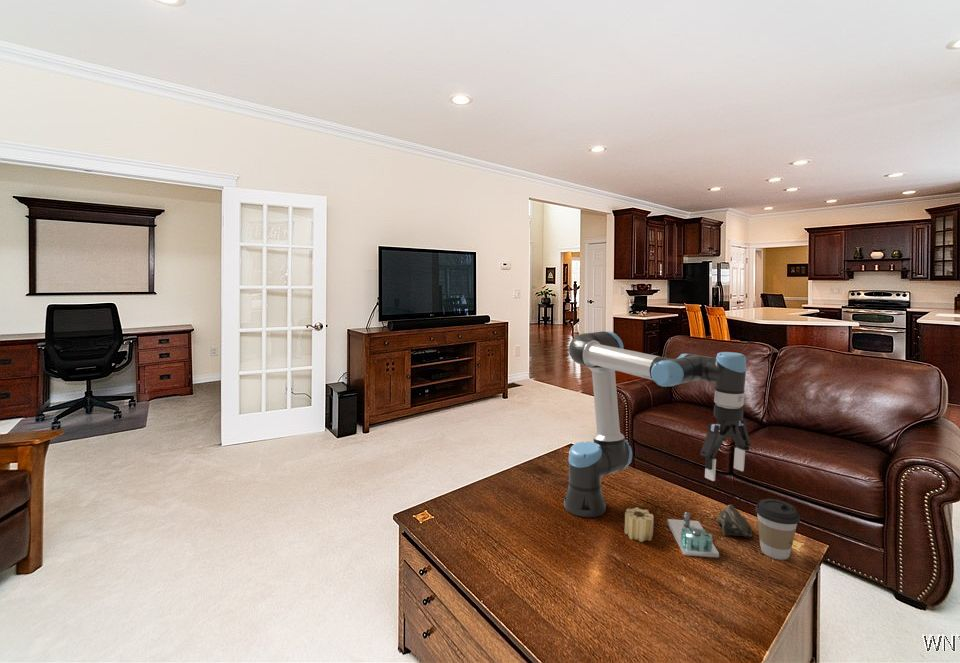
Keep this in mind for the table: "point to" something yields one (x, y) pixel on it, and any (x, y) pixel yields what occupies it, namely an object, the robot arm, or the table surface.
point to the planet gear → (639, 524)
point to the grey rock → (734, 523)
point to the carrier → (692, 537)
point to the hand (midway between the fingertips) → (724, 474)
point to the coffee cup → (776, 527)
